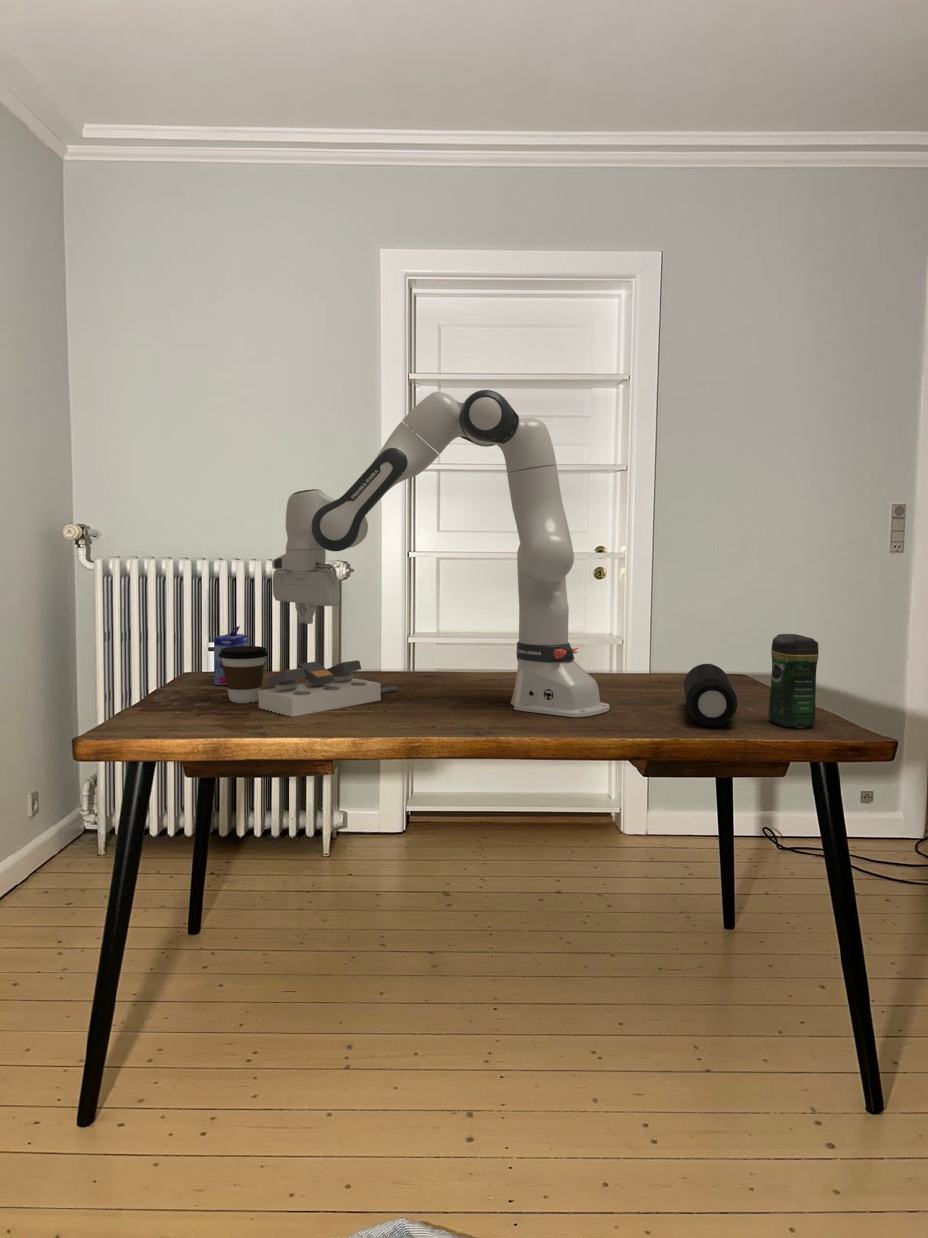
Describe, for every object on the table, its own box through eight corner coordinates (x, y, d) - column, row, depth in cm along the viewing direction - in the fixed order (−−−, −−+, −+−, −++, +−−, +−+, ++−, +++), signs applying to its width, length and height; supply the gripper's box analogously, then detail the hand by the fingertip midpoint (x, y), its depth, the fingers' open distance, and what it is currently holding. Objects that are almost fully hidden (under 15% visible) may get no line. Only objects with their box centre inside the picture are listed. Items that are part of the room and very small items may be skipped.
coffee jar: (821, 729, 177) (826, 637, 175) (783, 729, 176) (788, 637, 174) (798, 718, 186) (802, 631, 184) (762, 719, 186) (766, 631, 184)
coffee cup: (266, 695, 208) (265, 644, 207) (271, 703, 198) (270, 651, 197) (218, 697, 205) (217, 646, 204) (221, 706, 195) (219, 652, 193)
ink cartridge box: (234, 686, 219) (232, 629, 218) (213, 686, 220) (211, 628, 218) (250, 680, 229) (249, 624, 227) (229, 679, 230) (228, 624, 228)
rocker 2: (332, 683, 199) (334, 674, 198) (314, 685, 195) (316, 677, 194) (314, 669, 203) (316, 660, 202) (296, 671, 199) (298, 663, 198)
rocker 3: (361, 668, 204) (359, 659, 204) (344, 671, 200) (342, 662, 200) (343, 675, 208) (340, 666, 209) (326, 678, 205) (324, 669, 205)
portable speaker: (737, 731, 175) (739, 681, 174) (686, 728, 177) (687, 679, 176) (727, 706, 200) (729, 662, 198) (682, 704, 202) (684, 661, 201)
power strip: (413, 694, 211) (413, 670, 210) (292, 716, 185) (291, 690, 184) (379, 687, 219) (379, 665, 218) (258, 708, 193) (258, 683, 192)
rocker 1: (305, 677, 192) (303, 667, 192) (286, 679, 188) (284, 670, 189) (287, 684, 197) (285, 674, 197) (268, 687, 193) (266, 677, 193)
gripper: (346, 563, 193) (346, 626, 195) (290, 560, 207) (290, 618, 208) (323, 564, 189) (323, 628, 190) (267, 560, 202) (268, 620, 204)
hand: (305, 623), depth 199 cm, fingers closed
